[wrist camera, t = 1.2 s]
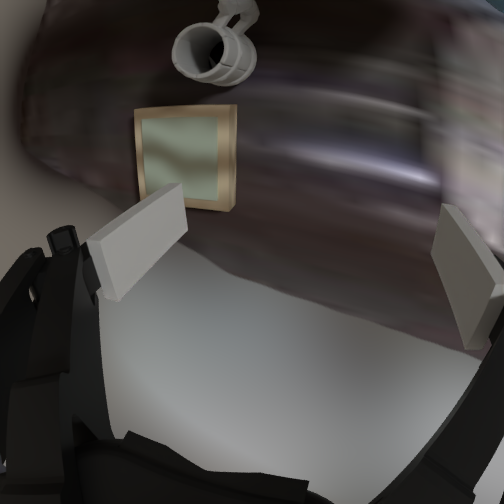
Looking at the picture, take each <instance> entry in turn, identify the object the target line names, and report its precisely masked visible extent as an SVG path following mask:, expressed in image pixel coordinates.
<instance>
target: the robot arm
mask: <svg viewBox="0 0 504 504" xmlns="http://www.w3.org/2000/svg"><path fill="white" fill-rule="evenodd" d="M486 1H487V2H488V3H490V4H491V5H492V6H493V7H494V8H496V9H497V10H499V11H500V12H502V13H504V0H486ZM187 230H188V227H187V220H186V213H185V206H184V198H183V190H182V183H168V184H167V185H165V186H164V187H162V188H160V189H159V190H157V191H156V192H154V193H153V194H151V195H150V196H148V197H146V198H145V199H143V200H142V201H140V202H139V203H137V204H136V205H134V206H133V207H131V208H130V209H128V210H127V211H125V212H124V213H123V214H121V215H120V216H118V217H117V218H115V219H114V220H113V221H111V222H110V223H108V224H107V225H105V226H104V227H103V228H101V229H100V230H98V231H97V232H96V233H94V234H93V235H92V236H90V237H89V238H87V239H86V242H85V243H83V244H82V245H81V246H80V244H79V241H78V237H77V234H76V230H75V227H74V226H72V225H67V226H63V227H59V228H57V229H55V230H53V231H52V232H50V233H49V234H48V235H47V240H48V243H49V246H50V249H51V252H52V257H45V255H44V253H43V250H42V248H40V247H37V248H30V249H28V250H26V251H25V252H24V253H23V254H22V255H20V256H19V258H18V259H17V260H16V261H15V263H14V264H13V265H12V267H11V268H10V269H9V271H8V272H7V273H6V274H5V276H4V277H3V279H2V280H1V281H0V504H334V503H332V502H331V501H329V500H328V499H326V498H324V497H322V496H320V495H318V494H316V493H314V492H311V491H308V490H307V488H308V484H309V481H307V480H300V479H292V478H286V477H281V476H275V475H270V474H264V473H238V472H213V471H207V470H204V469H202V468H200V467H199V466H197V465H195V464H194V463H192V462H190V461H189V460H187V459H186V458H184V457H183V456H181V455H179V454H178V453H176V452H175V451H173V450H172V449H170V448H169V447H167V446H166V445H163V444H161V443H158V442H155V441H153V440H150V439H148V438H145V437H143V436H141V435H138V434H136V433H134V432H131V431H128V432H127V434H126V435H125V437H124V439H115V437H114V435H113V433H112V430H111V426H110V420H109V414H108V408H107V401H106V394H105V387H104V377H103V369H102V357H101V345H100V331H99V330H100V329H99V303H98V302H99V301H98V296H97V294H96V291H97V290H98V289H99V288H100V287H101V288H102V291H103V294H104V296H105V298H106V299H109V300H113V301H117V302H119V301H120V300H121V299H122V298H123V297H124V296H125V294H126V293H127V292H128V291H129V290H130V289H131V288H132V287H133V286H134V285H135V284H136V283H137V281H139V280H140V278H141V277H142V276H143V275H144V274H145V273H146V272H147V271H148V270H149V269H150V268H151V267H152V266H153V265H154V264H155V263H156V262H157V261H158V260H159V259H160V258H161V256H163V255H164V254H165V253H166V252H167V250H169V248H170V247H171V246H172V245H173V244H174V243H175V242H176V241H177V240H178V239H179V238H180V237H181V236H182V235H183V234H184V233H185V232H186V231H187ZM431 256H432V258H433V261H434V263H435V265H436V268H437V270H438V273H439V275H440V278H441V280H442V283H443V285H444V288H445V291H446V293H447V296H448V299H449V302H450V304H451V307H452V310H453V313H454V316H455V319H456V322H457V325H458V328H459V332H460V335H461V338H462V341H463V345H464V348H465V350H482V349H483V347H484V345H485V343H486V341H487V340H488V338H490V341H491V344H492V346H491V348H490V350H489V351H488V353H487V355H486V356H485V358H484V360H483V361H482V363H481V364H480V366H479V369H478V371H477V373H476V374H475V376H474V377H473V379H472V381H471V382H470V384H469V386H468V387H467V389H466V390H465V392H464V394H463V395H462V396H461V398H460V400H459V401H458V402H457V404H456V405H455V407H454V408H453V410H452V411H451V412H450V414H449V415H448V417H447V418H446V419H445V421H444V422H443V423H442V425H441V426H440V427H439V429H438V430H437V431H436V433H435V434H434V435H433V436H432V438H431V439H430V440H429V441H428V443H427V444H426V445H425V446H424V447H423V448H422V450H421V451H420V452H419V453H418V454H417V455H416V457H415V458H414V459H413V460H412V461H411V462H410V464H409V465H408V466H407V467H406V468H405V469H404V470H403V471H402V472H401V473H400V474H399V475H398V476H397V477H396V478H395V480H393V481H392V482H391V484H389V485H388V486H387V487H386V488H385V489H384V490H383V491H382V492H381V493H380V494H379V495H378V496H377V497H376V498H374V499H373V500H372V501H371V502H370V503H369V504H473V502H474V500H475V496H476V495H475V494H474V493H473V489H474V487H475V485H476V484H477V482H478V481H479V479H480V477H481V476H482V474H483V472H484V471H485V469H486V467H487V466H488V464H489V462H490V461H491V459H492V457H493V455H494V453H495V452H496V450H497V448H498V446H499V444H500V442H501V440H502V438H503V436H504V262H503V261H502V260H500V259H499V258H498V257H497V256H496V255H493V254H492V252H491V251H490V249H489V248H488V247H487V245H486V244H485V242H484V241H483V240H482V238H481V237H480V236H479V234H478V233H477V232H476V230H475V229H474V228H473V227H472V225H471V224H470V223H469V221H468V220H467V219H466V218H465V216H464V215H463V214H462V213H461V212H460V210H459V209H458V208H457V207H456V206H455V205H450V204H443V203H442V205H441V211H440V216H439V220H438V225H437V230H436V234H435V238H434V242H433V247H432V251H431ZM29 288H30V291H31V293H32V295H33V297H34V300H33V302H32V300H31V298H30V295H29ZM5 460H6V467H5V466H4V465H3V464H4V462H5ZM499 504H504V492H503V495H502V498H501V501H500V503H499Z"/></svg>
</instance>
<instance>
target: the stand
mask: <svg viewBox="0 0 504 504" xmlns="http://www.w3.org/2000/svg"><path fill="white" fill-rule="evenodd" d="M134 122H135V141H136V156H137V169H138V180H139V191H140V200H141V201H142V200H143V199H145V198H146V197H148V196H150V195H151V194H153V193H154V192H156V191H157V190H159V189H160V188H162V187H164V186H165V185H167V184H168V183H182V190H183V198H184V206H185V207H191V208H200V209H209V210H218V211H226V212H229V211H230V210H231V209H232V208H233V207H234V206H235V204H236V135H237V105H236V104H208V105H177V106H161V107H148V108H140V109H134Z"/></svg>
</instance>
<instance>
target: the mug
mask: <svg viewBox="0 0 504 504" xmlns="http://www.w3.org/2000/svg"><path fill="white" fill-rule="evenodd" d="M218 1H219V4H218V9H219V11H220V13H219V15H218V16H217V17H216V19H215V20H214V21H213V23H212V24H211V23H198V24H193V25H191V26H188V27H187V28H185V29H184V30H183V31H181V32H180V33H179V35H178V36H177V37H178V38H176V39H175V43H174V46H173V49H172V61H173V64H175V65H174V66H175V67H176V69H177V70H178V71H179V72H181V73H182V74H184V76H186V77H189V78H192V79H193V80H196V81H199V82H203V83H212V84H214V85H217V86H233V85H237V84H239V83H241V82H243V81H244V80H245V79H247V78H248V77H249V76H250V75H251V73H252V72H253V71H254V69H255V66H256V62H257V53H256V49H255V47H254V45H253V43H252V41H251V40H250V39H249V38H248V37H247V36H246V35H245V34H244V32H245V31H246V30H247V29H248V28H249V27H250V26H251V25H253V24H254V23H255V22H256V21H257V20H258V16H259V15H260V13H259V9H258V6H257V4H256V2H255V1H254V0H218ZM239 13H240V18H241V19H240V20H239V21H238V22H237V24H236V25H235V26H234V27H233V28H232V29H230V28H228V27H226V25H227V24H228V22H229V21H230V19H231V18H232V17H233V16H234V15H237V14H239ZM221 41H223V43H224V53H223V56H222V58H221V60H220V63H218V64H217V65H216V64H215V62H214V61H213V60H212V58H211V57H210V56H209V55H210V53H211V51H212V48H214V47H215V45H216V44H218V43H219V42H221ZM209 60H210V62H211V65H212V68H213V69H212V70H211V69H210V66H209Z"/></svg>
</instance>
